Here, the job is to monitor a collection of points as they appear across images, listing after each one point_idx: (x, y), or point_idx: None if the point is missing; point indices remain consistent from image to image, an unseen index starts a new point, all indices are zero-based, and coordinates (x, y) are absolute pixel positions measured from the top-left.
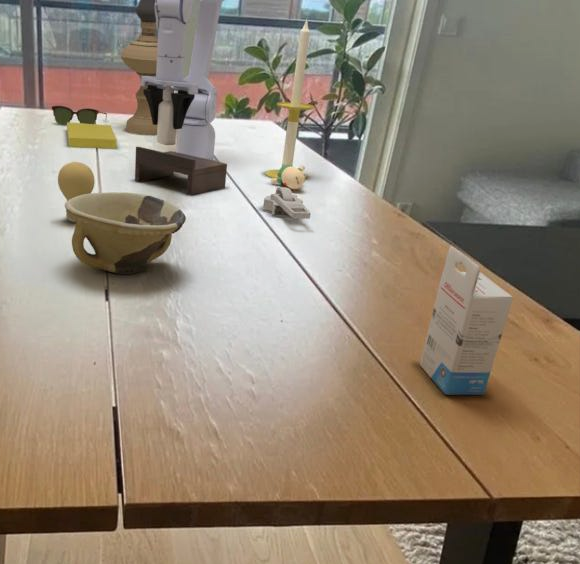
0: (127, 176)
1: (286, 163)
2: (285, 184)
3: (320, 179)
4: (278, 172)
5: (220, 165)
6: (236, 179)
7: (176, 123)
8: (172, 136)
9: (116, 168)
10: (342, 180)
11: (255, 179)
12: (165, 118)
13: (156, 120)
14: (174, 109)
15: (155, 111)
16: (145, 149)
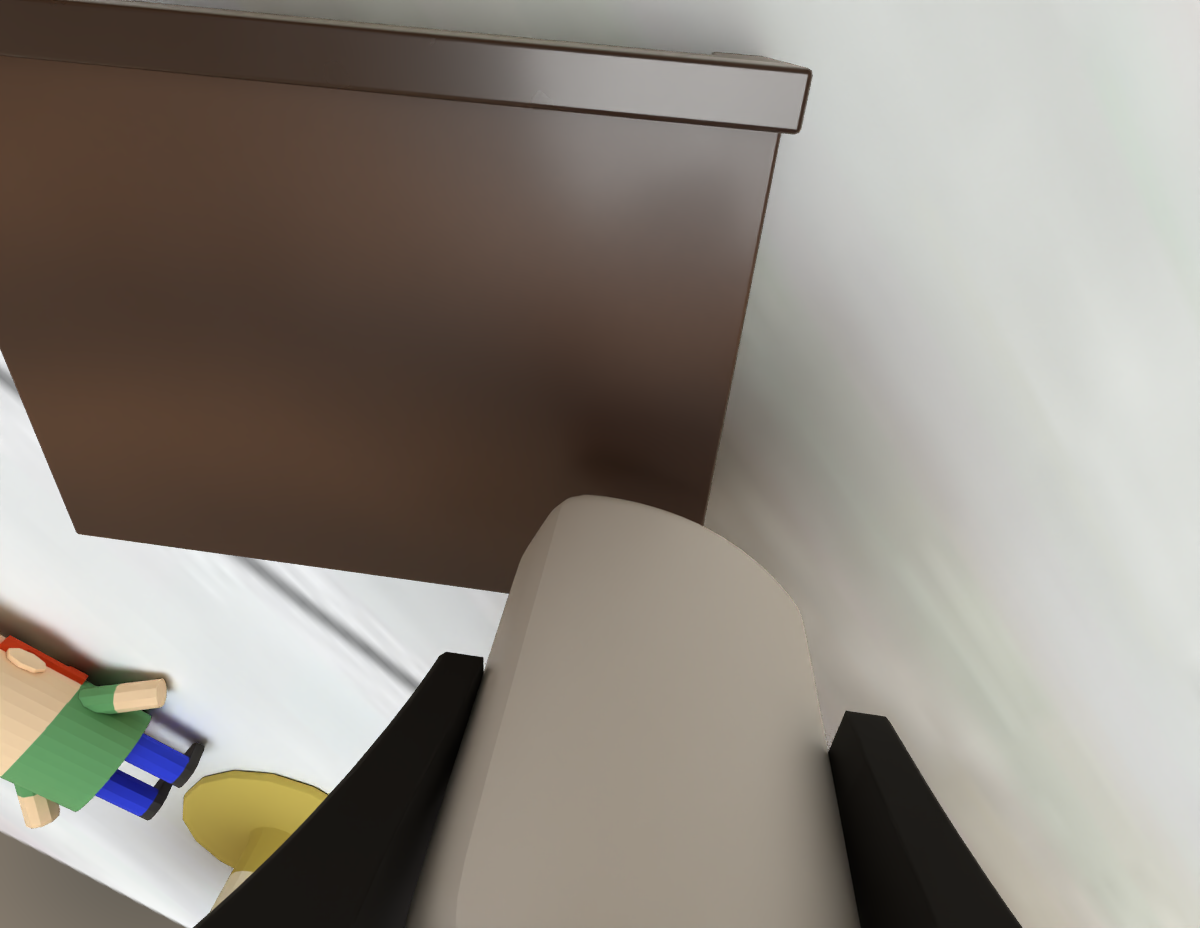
0: (923, 173)
1: (236, 879)
2: (4, 639)
3: (167, 852)
4: (129, 750)
5: (46, 453)
6: (339, 654)
7: (407, 709)
8: (516, 587)
9: (1160, 371)
10: (121, 878)
11: (290, 710)
12: (572, 736)
13: (848, 786)
14: (331, 897)
15: (896, 913)
16: (602, 49)
